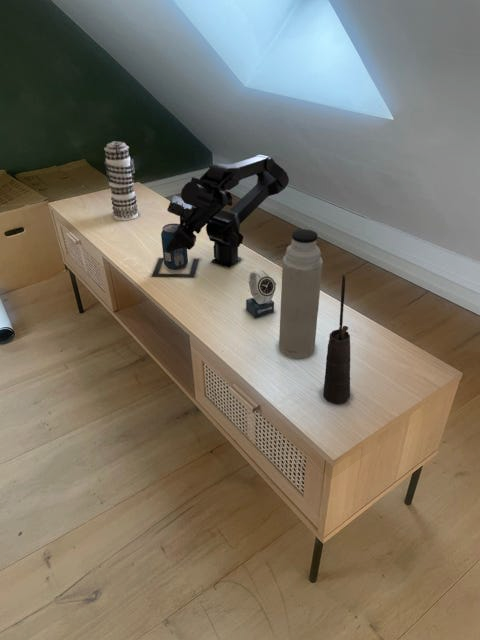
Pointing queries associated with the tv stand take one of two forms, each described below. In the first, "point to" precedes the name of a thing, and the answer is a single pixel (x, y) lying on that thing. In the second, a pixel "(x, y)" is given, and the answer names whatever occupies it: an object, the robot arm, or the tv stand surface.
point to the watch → (260, 294)
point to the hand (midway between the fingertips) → (169, 244)
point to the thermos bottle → (300, 295)
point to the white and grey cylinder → (121, 180)
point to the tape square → (158, 266)
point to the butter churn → (338, 362)
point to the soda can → (175, 257)
